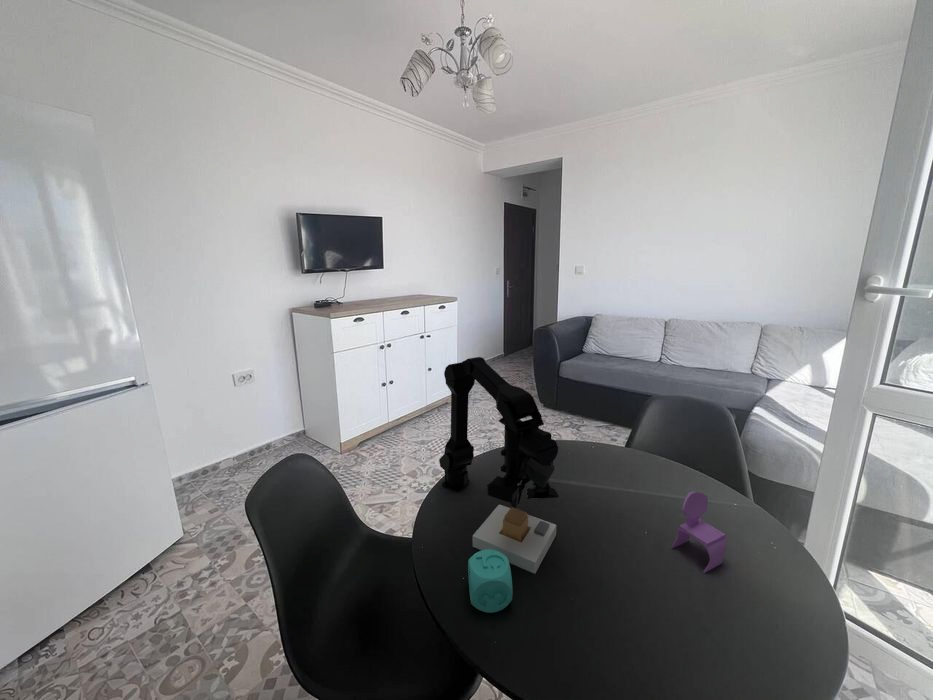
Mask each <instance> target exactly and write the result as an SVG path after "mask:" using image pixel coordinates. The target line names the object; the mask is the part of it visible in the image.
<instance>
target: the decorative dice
mask: <svg viewBox="0 0 933 700" xmlns="http://www.w3.org/2000/svg"><path fill="white" fill-rule="evenodd" d="M467 570H468V571H467V572H468V587H469V589H468V590H469V597H470V604H471V605H472V607H474V608H475V609H477V610H479V611H480V612H483V613H490V614H493V613H497V612H500V611H502V610H504V609H505V608H507V606H509V604H510V603H511V602H512V600H513V593H514V592H513V579H512V571H511V570H512V569H511V565H510V563H509V561H508V558H507V557H506V556H505V555H504V554H502V553H500V552H499V551H496V550H492V549H486V550H479V551H476V553H474V554H473V555H472V556H471V557H469V559H468V561H467Z"/></svg>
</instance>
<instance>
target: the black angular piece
mask: <svg viewBox="0 0 933 700" xmlns="http://www.w3.org/2000/svg"><path fill="white" fill-rule="evenodd" d="M532 482H533V481H532ZM551 487H552V486H550V484H549V481H548V482H547V484H546V485H545V487H539V486H538V485H537V484H536V483H535V482H533V483H532V487H527V488H528V489H527V491H528V492H527V495H528V498H527V497H526V499H527V500H531V499H530V498H539V499H552V498H553V499H554V498H555V499H556V498H560V496H559V495H558V492H557V490H556V489H553V488H551ZM555 490H556V491H555Z"/></svg>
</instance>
